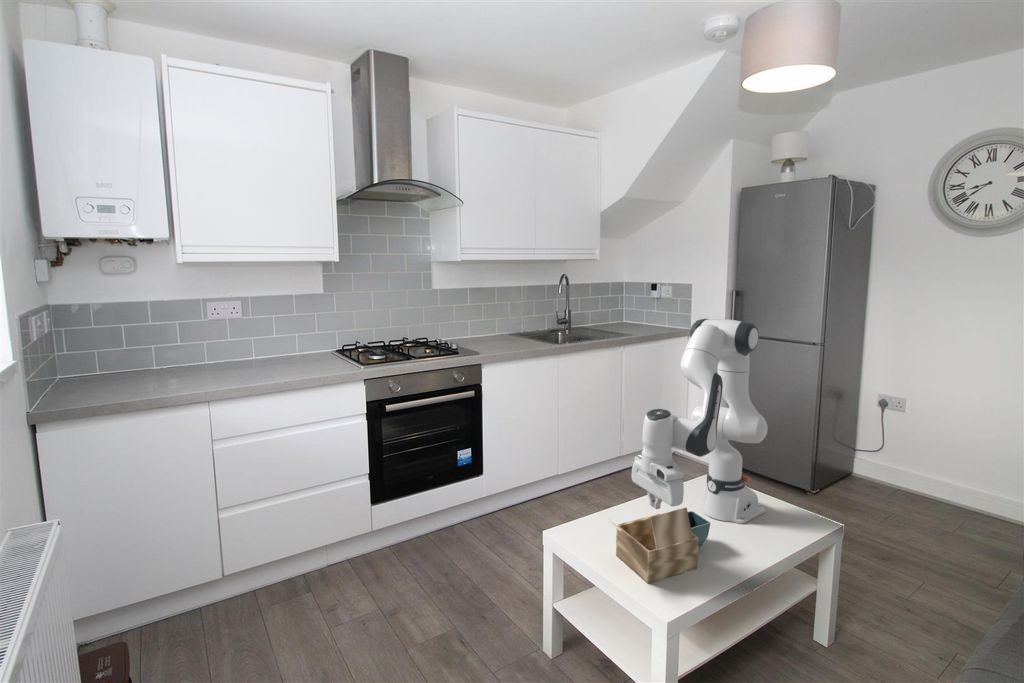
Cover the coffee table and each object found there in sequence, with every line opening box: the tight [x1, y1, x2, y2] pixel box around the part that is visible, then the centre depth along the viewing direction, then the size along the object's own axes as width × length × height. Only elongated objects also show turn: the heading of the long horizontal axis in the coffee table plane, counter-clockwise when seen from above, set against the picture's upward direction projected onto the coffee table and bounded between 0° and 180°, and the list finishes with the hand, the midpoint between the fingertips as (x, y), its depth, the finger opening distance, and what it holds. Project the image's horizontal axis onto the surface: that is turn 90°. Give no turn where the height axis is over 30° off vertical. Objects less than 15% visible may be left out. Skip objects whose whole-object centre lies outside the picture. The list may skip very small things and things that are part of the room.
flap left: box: [650, 507, 693, 549], centre depth 155 cm, size 13×9×1 cm
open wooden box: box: [615, 513, 699, 585], centre depth 163 cm, size 19×17×10 cm
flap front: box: [604, 517, 640, 545], centre depth 156 cm, size 9×8×1 cm
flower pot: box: [687, 510, 711, 548], centre depth 172 cm, size 9×9×9 cm
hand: (654, 507), depth 161 cm, fingers closed
